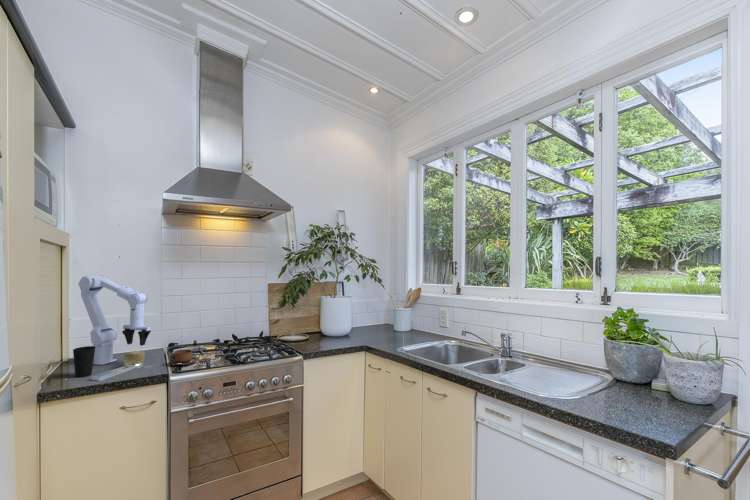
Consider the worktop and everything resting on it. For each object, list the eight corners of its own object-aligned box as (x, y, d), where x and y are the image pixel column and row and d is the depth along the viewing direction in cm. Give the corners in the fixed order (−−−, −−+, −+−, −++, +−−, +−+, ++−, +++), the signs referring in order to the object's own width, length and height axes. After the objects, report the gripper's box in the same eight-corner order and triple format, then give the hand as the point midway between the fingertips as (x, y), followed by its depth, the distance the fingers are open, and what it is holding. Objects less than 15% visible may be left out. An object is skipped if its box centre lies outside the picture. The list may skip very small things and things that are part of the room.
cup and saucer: (174, 369, 162) (174, 356, 162) (165, 364, 170) (166, 351, 170) (200, 363, 171) (201, 351, 171) (191, 359, 179) (191, 347, 179)
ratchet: (88, 380, 147) (88, 368, 147) (134, 364, 169) (134, 354, 169) (101, 381, 145) (102, 369, 145) (146, 365, 167) (146, 355, 168)
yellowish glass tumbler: (124, 364, 162) (124, 353, 163) (134, 360, 168) (134, 350, 168) (134, 365, 161) (134, 354, 162) (144, 361, 167) (144, 351, 167)
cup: (89, 377, 149) (90, 350, 150) (68, 379, 147) (69, 351, 147) (97, 372, 157) (98, 345, 157) (77, 373, 154) (78, 346, 155)
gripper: (156, 316, 173) (155, 343, 173) (132, 315, 176) (131, 341, 176) (144, 318, 166) (143, 347, 166) (119, 317, 169) (118, 345, 169)
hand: (136, 344), depth 170 cm, fingers open, 7 cm apart
